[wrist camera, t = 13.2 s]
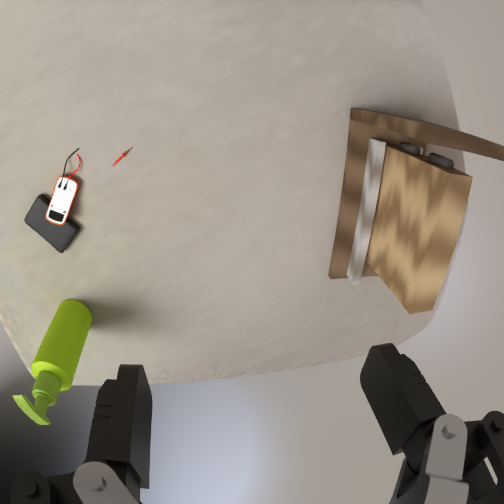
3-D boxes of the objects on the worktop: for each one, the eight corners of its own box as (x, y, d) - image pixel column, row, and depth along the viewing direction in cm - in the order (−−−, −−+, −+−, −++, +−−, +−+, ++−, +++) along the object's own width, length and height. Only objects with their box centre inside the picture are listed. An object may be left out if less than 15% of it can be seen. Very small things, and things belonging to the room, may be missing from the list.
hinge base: (350, 107, 35) (431, 126, 21) (425, 121, 37) (510, 148, 23) (328, 275, 46) (374, 351, 32) (395, 270, 48) (449, 334, 34)
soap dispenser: (77, 289, 42) (32, 398, 24) (98, 324, 45) (69, 433, 28) (49, 298, 41) (0, 399, 24) (70, 331, 45) (36, 432, 27)
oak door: (379, 135, 36) (451, 163, 24) (410, 140, 37) (483, 169, 25) (360, 253, 44) (409, 313, 32) (389, 252, 45) (441, 308, 33)
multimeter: (85, 93, 30) (75, 94, 27) (149, 162, 35) (144, 169, 32) (8, 193, 34) (-5, 202, 31) (63, 250, 39) (54, 263, 36)
